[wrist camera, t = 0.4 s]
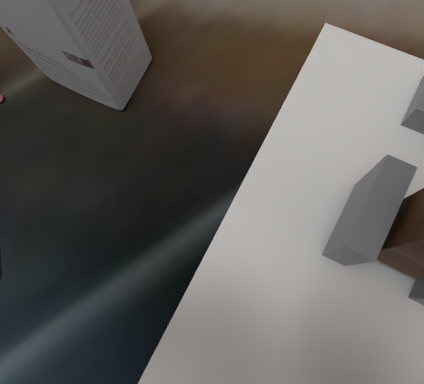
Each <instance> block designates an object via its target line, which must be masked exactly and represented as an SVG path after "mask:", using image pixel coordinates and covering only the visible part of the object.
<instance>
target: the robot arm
mask: <svg viewBox="0 0 424 384" xmlns="http://www.w3.org/2000/svg"><path fill="white" fill-rule="evenodd" d="M1 277H2V265H1V250H0V280H1Z"/></svg>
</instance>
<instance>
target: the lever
mask: <svg viewBox="0 0 424 384" xmlns="http://www.w3.org/2000/svg"><path fill="white" fill-rule="evenodd" d="M376 260H378V261H380V262H382V263H384V264H386V265H388V266H390V267H393V268H395V269H397V270H399V271H401V272H403V273H405V274H407V275H409V276H411V277H413V278H424V188H423V189H421V190H419V191H417V192H415V193H413V194H412V195H410V196H408V197H406V198H404V199H403V201H402V203H401V206H400V208H399V210H398V212H397V215H396V217H395V219H394V221H393V224H392V226H391V228H390V230H389V233H388V235H387V237H386V239H385V242H384V244H383V246H382V248H381V250H380V253H379V255H378V257H377V259H376Z"/></svg>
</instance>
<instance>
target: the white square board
mask: <svg viewBox="0 0 424 384" xmlns="http://www.w3.org/2000/svg"><path fill="white" fill-rule="evenodd" d="M423 188H424V60H422V59H420V58H417V57H415V56H412V55H409V54H407V53H404V52H401V51H399V50H396V49H393V48H391V47H388V46H385V45H383V44H380V43H377V42H375V41H372V40H369V39H367V38H364V37H362V36H359V35H356V34H354V33H351V32H348V31H346V30H343V29H340V28H338V27H335V26H332V25H330V24H327V23H325V25H324V27H323V29H322V31H321V33H320V35H319V37H318V38H317V40H316V42H315V44H314V46H313V48H312V50H311V52H310V54H309V56H308V58H307V60H306V62H305V63H304V65H303V67H302V69H301V71H300V73H299V75H298V77H297V79H296V81H295V83H294V85H293V86H292V88H291V90H290V92H289V94H288V96H287V98H286V100H285V102H284V104H283V106H282V108H281V110H280V111H279V113H278V115H277V117H276V119H275V121H274V123H273V125H272V127H271V129H270V131H269V133H268V135H267V136H266V138H265V140H264V142H263V144H262V146H261V148H260V150H259V152H258V154H257V156H256V158H255V160H254V161H253V163H252V165H251V167H250V169H249V171H248V173H247V175H246V177H245V179H244V181H243V183H242V184H241V186H240V188H239V190H238V192H237V194H236V196H235V198H234V200H233V202H232V204H231V206H230V208H229V209H228V211H227V213H226V215H225V217H224V219H223V221H222V223H221V225H220V227H219V229H218V231H217V233H216V234H215V236H214V238H213V240H212V242H211V244H210V246H209V248H208V250H207V252H206V254H205V256H204V257H203V259H202V261H201V263H200V265H199V267H198V269H197V271H196V273H195V275H194V277H193V279H192V281H191V282H190V284H189V286H188V288H187V290H186V292H185V294H184V296H183V298H182V300H181V302H180V304H179V306H178V307H177V309H176V311H175V313H174V315H173V317H172V319H171V321H170V323H169V325H168V327H167V329H166V331H165V332H164V334H163V336H162V338H161V340H160V342H159V344H158V346H157V348H156V350H155V352H154V354H153V355H152V357H151V359H150V361H149V363H148V365H147V367H146V369H145V371H144V373H143V375H142V377H141V379H140V380H139V382H138V384H424V278H413V277H411V276H409V275H407V274H405V273H403V272H401V271H399V270H397V269H395V268H393V267H390V266H388V265H386V264H384V263H382V262H380V261H378V260H376V259H377V257H378V255H379V253H380V250H381V248H382V246H383V244H384V242H385V239H386V237H387V235H388V233H389V230H390V228H391V226H392V224H393V221H394V219H395V217H396V215H397V212H398V210H399V208H400V206H401V203H402V201H403V199H404V198H406V197H408V196H410V195H412V194H413V193H415V192H417V191H419V190H421V189H423Z"/></svg>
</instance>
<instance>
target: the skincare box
mask: <svg viewBox="0 0 424 384" xmlns="http://www.w3.org/2000/svg"><path fill="white" fill-rule="evenodd" d="M0 27H1V28H2V29H3V30H4V31H5V32H6V33H7V34H8V35H9V36H10V37H11V38H12V40H13V41H14V42H15V43H16V44H17V45H18V46H19V47H20V48H21V49H22V50H23V51H24V52H25V54H26V55H27V56H28V57H29V58H30V59H31V60H32V61H33V62H34V63H35V64H36V65H37V66H38V67H39V68H40V70H41V71H42V72H43V73H44V74H45V75H46V76H47V77H49V78H50V79H52V80H53V81H55V82H57V83H59V84H61V85H63V86H65V87H67V88H69V89H71V90H73V91H75V92H77V93H79V94H81V95H83V96H85V97H88V98H90V99H92V100H95V101H97V102H99V103H102V104H104V105H106V106H109V107H111V108H114V109H117V110H123V109H124V108H125V106H126V104H127V102H128V101H129V99H130V98H131V96H132V94H133V93H134V91H135V89H136V87H137V86H138V84H139V82H140V80H141V79H142V77H143V75H144V73H145V71H146V70H147V68H148V66H149V64H150V62H151V60H152V56H151V54H150V51H149V48H148V46H147V43H146V41H145V38H144V36H143V33H142V31H141V29H140V26H139V23H138V21H137V18H136V16H135V13H134V10H133V8H132V5H131V3H130V0H0Z"/></svg>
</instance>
